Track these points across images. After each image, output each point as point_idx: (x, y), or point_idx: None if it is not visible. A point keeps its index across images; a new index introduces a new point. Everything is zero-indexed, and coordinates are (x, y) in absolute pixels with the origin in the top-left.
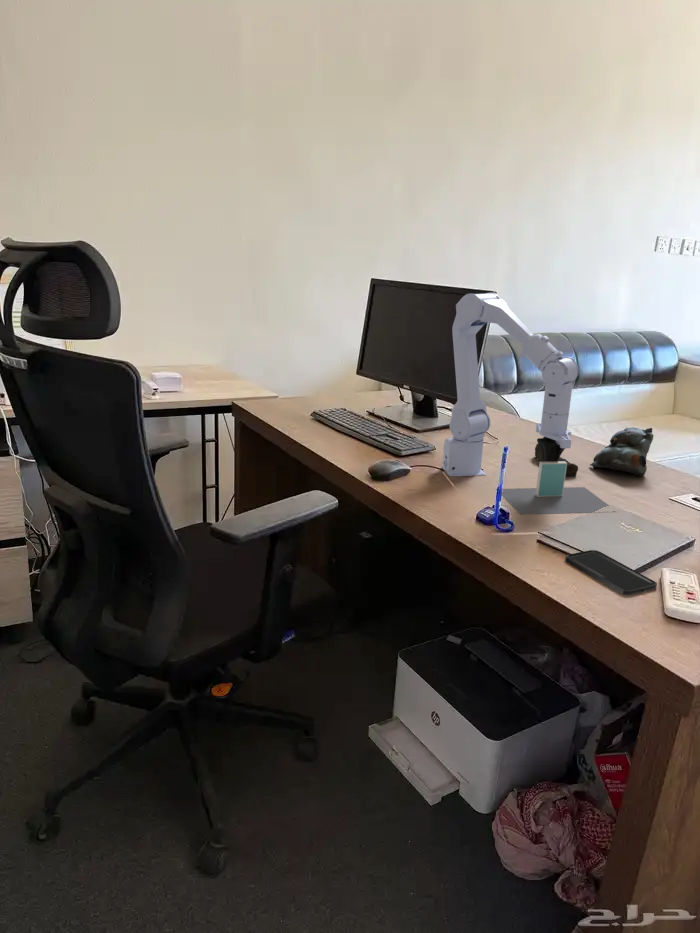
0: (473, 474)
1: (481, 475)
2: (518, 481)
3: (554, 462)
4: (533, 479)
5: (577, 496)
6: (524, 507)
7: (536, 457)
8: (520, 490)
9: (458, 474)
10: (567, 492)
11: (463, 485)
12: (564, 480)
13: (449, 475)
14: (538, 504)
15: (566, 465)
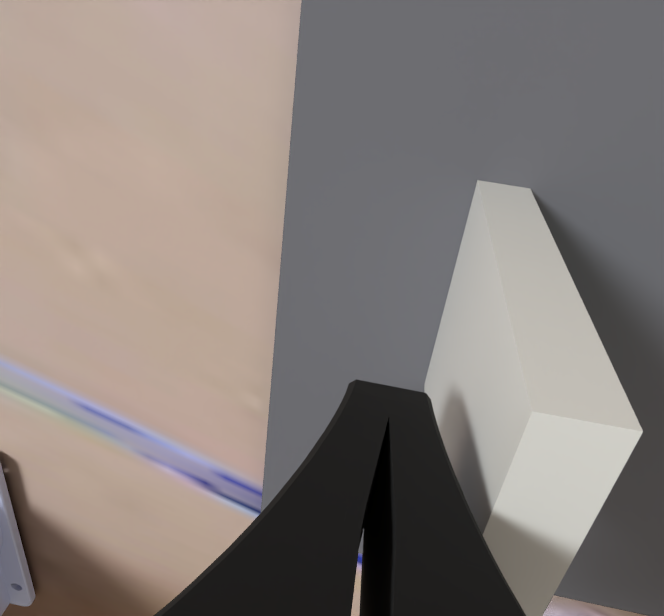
0: (4, 518)
1: (2, 478)
2: (79, 309)
3: (522, 576)
4: (16, 163)
5: (608, 29)
6: (626, 564)
7: None
8: (313, 427)
9: (16, 575)
10: (456, 72)
11: (164, 600)
12: (565, 266)
13: (30, 603)
14: (621, 471)
15: (623, 399)
